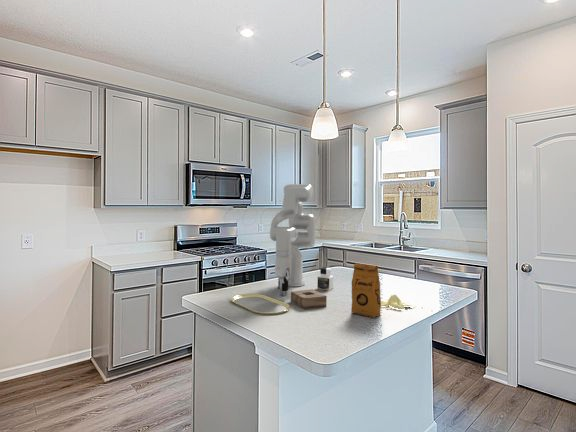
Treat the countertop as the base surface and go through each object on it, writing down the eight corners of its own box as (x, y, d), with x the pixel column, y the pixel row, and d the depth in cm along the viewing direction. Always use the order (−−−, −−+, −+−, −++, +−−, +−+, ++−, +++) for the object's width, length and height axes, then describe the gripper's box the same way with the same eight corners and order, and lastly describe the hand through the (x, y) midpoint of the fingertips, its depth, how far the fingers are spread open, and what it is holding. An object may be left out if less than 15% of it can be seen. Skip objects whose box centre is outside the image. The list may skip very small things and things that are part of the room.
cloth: (363, 305, 167) (364, 293, 167) (387, 299, 179) (387, 287, 179) (404, 317, 150) (405, 303, 150) (427, 310, 161) (427, 297, 161)
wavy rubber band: (264, 319, 146) (264, 315, 146) (224, 300, 173) (224, 297, 173) (298, 311, 157) (298, 307, 157) (256, 295, 185) (256, 292, 185)
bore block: (290, 301, 171) (290, 291, 171) (312, 298, 176) (312, 289, 176) (303, 309, 159) (303, 298, 158) (326, 306, 164) (326, 295, 164)
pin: (278, 295, 175) (278, 275, 174) (284, 294, 176) (285, 275, 176) (281, 297, 171) (281, 277, 171) (287, 296, 173) (288, 276, 172)
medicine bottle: (317, 289, 198) (317, 268, 197) (321, 286, 204) (322, 266, 204) (329, 290, 195) (329, 269, 194) (333, 288, 201) (333, 267, 200)
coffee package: (374, 320, 145) (375, 267, 144) (348, 314, 152) (348, 264, 152) (384, 314, 152) (385, 264, 152) (358, 308, 160) (359, 261, 160)
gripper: (270, 251, 178) (270, 286, 179) (283, 256, 163) (283, 295, 164) (283, 250, 181) (283, 285, 183) (297, 255, 166) (297, 293, 168)
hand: (283, 289), depth 174 cm, fingers closed on pin, 3 cm apart
